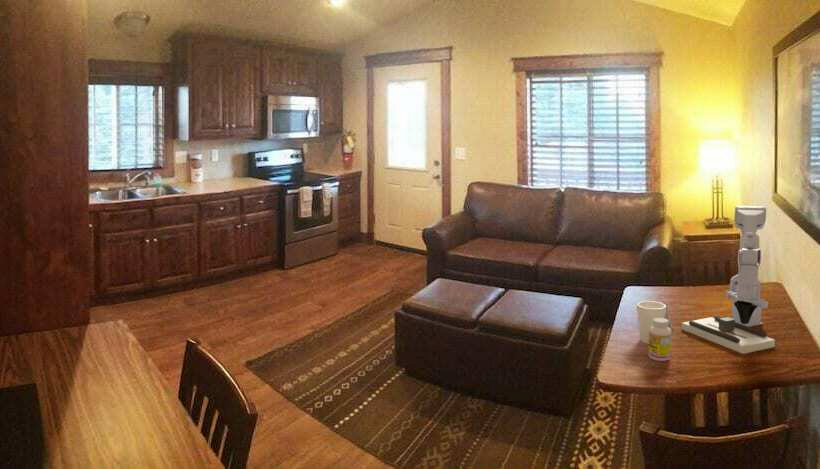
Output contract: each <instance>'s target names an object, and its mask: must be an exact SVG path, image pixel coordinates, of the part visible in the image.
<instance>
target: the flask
mask: <svg viewBox="0 0 820 469" xmlns="http://www.w3.org/2000/svg"><path fill="white" fill-rule="evenodd" d="M660 303H663V304H665V305H666V314H665V319H668V320H669V325H668V327H669V328H670V329H671V331H672V332H673V330H674V327H673V325H672V322H671V319H670V318H671V317H670V316H669V313H668V312H669V311H668V305H669V303H668V302H667V301H666V302H665V301H662V302H661V301H660Z"/></svg>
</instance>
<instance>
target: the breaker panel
mask: <svg viewBox="0 0 820 469" xmlns="http://www.w3.org/2000/svg"><path fill="white" fill-rule="evenodd" d="M693 321H694V322H696V323H699V324H702V325H704V326H707V327H710V328H712V329H715V330H718V329H719V321H717V320H715V319H714V317H711V316H710V317H706V318H704V317H703V318H699V319H694V320H693ZM681 330H682V331H685V332H687V333H690V334H692V335H695V336H698V337H700V338H702V339H705V340H707V341H710V342H712V343H715V344H717V345H720V346H722V347H725V348H727V349H730V350H732V351H735V352H737V353H739V354H742V355H744V354H749V353H752V352H758V351H763V350H766V349H771V348H775V344H776V340H775V339H774V338H771V337H768V336H766V337H762V336H759V335H756V334H753V333H751V332H748V331H745V330H742V329H739V328H737V327H735V329H734V331H730V332H724V331H721V330H718V331H720V332H723V333H726V334H728V335H731V336H734V337H736V338H739V339H740V342H739V343H736V342H733V341H731V340H728V339H726V338H723V337H720V336H718V335H715V334H712V333H710V332H707V331H705V330H702V329H699V328H697V327H694V326H692V325H689V321H684V322H681Z"/></svg>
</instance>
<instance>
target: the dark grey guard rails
mask: <svg viewBox="0 0 820 469" xmlns="http://www.w3.org/2000/svg"><path fill="white" fill-rule="evenodd" d="M713 318H714V319H715V320H717V321H719V319H720V318H723V317H721V316H719V315H715V316H714V317H713ZM688 322H689V325H692V326H694V327H697V328H699V329H702V330H705V331H707V332H710V333H712V334H715V335H718V336H720V337H723V338H726V339H728V340H731V341H733V342H736V343H739V342H740V339H739V338H736V337H734V336H731V335H728V334H726V333H723V332H720V331H718V330H715V329H712V328H710V327H707V326H704V325H702V324H699V323H696V322H694V320H689V321H688ZM735 327H737V328H739V329H742V330H745V331H748V332H751V333H753V334H756V335H759V336H762V337H768V333H767V332H765V331H762V330H759V329H756V328H753V327H747V326H745V325H742V324H739V323H736V322H735Z"/></svg>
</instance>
